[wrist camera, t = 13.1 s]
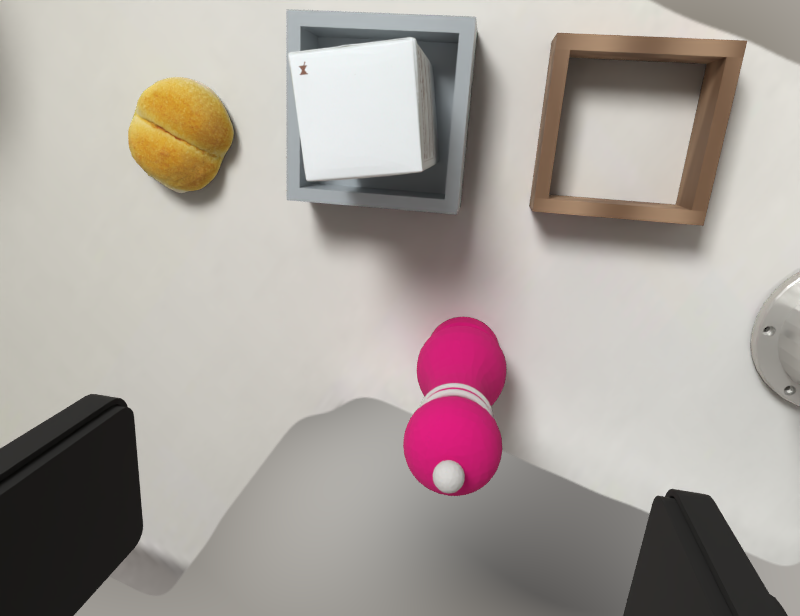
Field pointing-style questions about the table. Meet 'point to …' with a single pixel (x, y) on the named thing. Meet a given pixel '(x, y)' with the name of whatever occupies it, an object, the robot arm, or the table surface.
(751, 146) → the table surface
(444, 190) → the grey bin
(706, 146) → the walnut frame
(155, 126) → the bread roll
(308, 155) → the supplement box
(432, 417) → the pepper mill
